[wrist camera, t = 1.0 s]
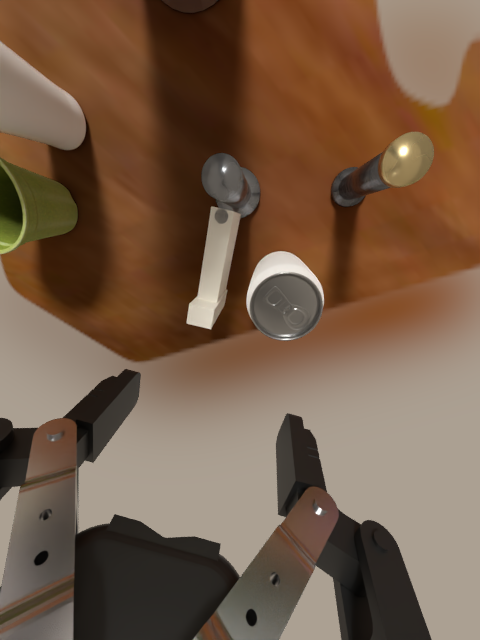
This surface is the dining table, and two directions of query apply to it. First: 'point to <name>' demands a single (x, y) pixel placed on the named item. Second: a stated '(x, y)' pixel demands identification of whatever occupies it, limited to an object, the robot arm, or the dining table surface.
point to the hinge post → (230, 184)
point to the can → (284, 297)
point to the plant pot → (32, 207)
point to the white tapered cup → (37, 105)
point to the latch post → (385, 169)
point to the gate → (214, 268)
